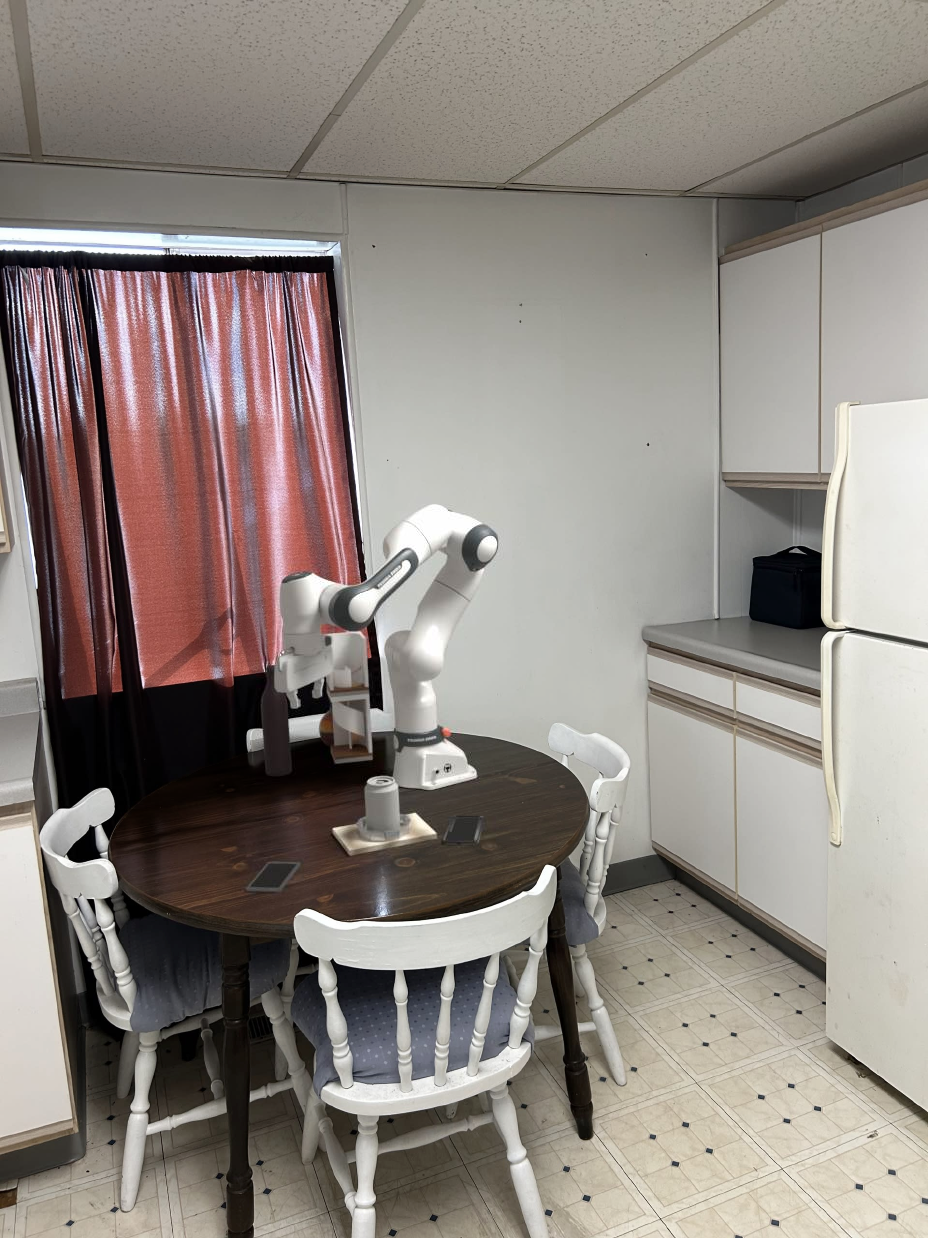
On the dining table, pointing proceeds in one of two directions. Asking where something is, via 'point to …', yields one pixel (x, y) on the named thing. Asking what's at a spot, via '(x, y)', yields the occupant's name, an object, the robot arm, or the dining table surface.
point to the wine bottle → (275, 728)
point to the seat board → (359, 846)
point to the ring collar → (383, 835)
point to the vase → (327, 727)
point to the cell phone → (273, 877)
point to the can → (382, 804)
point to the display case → (350, 698)
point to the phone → (464, 830)
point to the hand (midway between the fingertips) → (306, 702)
